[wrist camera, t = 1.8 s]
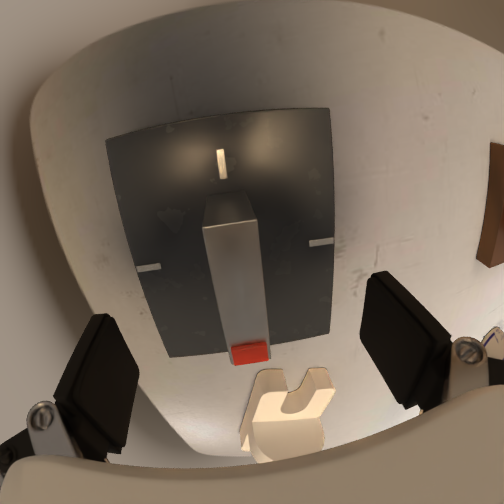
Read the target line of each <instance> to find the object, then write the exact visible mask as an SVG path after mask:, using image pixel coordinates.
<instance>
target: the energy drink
mask: <svg viewBox="0 0 504 504" xmlns="http://www.w3.org/2000/svg"><path fill="white" fill-rule="evenodd" d="M481 343H482V344H483V345H484V347H485V348H486V351H487V356H488V357H492V358H496V359H501V360H504V333H503V331H502V330H501V329H500V328H498V327H497V328H494V329H492V330H491V331H490V332H489V333H488V334H487V335H486V336H485V338H484V339H483V341H482V342H481Z"/></svg>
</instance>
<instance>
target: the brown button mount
mask: <svg viewBox="0 0 504 504" xmlns="http://www.w3.org/2000/svg"><path fill="white" fill-rule="evenodd" d="M476 259H477V260H479V261H480V262H481V263H483V264H484V265H486V266H487V267H488V268H491V267H494V266H496V265H499V264H501V263H504V145H500V144H496V143H492V142H491V150H490V173H489V186H488V195H487V203H486V211H485V217H484V223H483V229H482V234H481V239H480V244H479V248H478V253H477V257H476Z"/></svg>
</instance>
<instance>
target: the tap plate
mask: <svg viewBox="0 0 504 504" xmlns="http://www.w3.org/2000/svg"><path fill="white" fill-rule="evenodd" d="M105 142H106V148H107V154H108V160H109V165H110V171H111V176H112V180H113V185H114V190H115V194H116V199H117V203H118V207H119V211H120V215H121V219H122V223H123V227H124V230H125V234H126V238H127V241H128V245H129V248H130V251H131V255H132V258H133V261H134V264H135V268H136V271H137V274H138V277H139V280H140V283H141V286H142V289H143V292H144V294H145V297H146V300H147V303H148V305H149V308H150V311H151V314H152V316H153V319H154V321H155V324H156V326H157V329H158V331H159V334H160V336H161V339H162V341H163V344H164V346H165V348H166V351H167V353H168V355H169V357H170V358H173V357H184V356H195V355H204V354H213V353H221V352H228V348H227V344H226V340H225V336H224V331H223V327H222V323H221V318H220V314H219V309H218V305H217V300H216V296H215V291H214V286H213V282H212V277H211V272H210V267H209V262H208V257H207V252H206V247H205V242H204V236H203V231H202V226H203V219H204V213H205V207H206V201H207V196H209V195H216V194H223V193H229V192H237V191H245V193H246V195H247V198H248V200H249V202H250V205H251V207H252V209H253V212H254V214H255V216H256V219H257V222H258V232H259V241H260V251H261V260H262V270H263V280H264V289H265V299H266V309H267V319H268V330H269V340H270V345H274V344H280V343H285V342H291V341H296V340H301V339H306V338H311V337H315V336H320V335H324V334H329V331H330V320H331V307H332V291H333V271H334V234H335V204H334V167H333V147H332V132H331V120H330V109H329V108H289V109H271V110H258V111H247V112H237V113H229V114H221V115H214V116H207V117H201V118H195V119H189V120H184V121H179V122H173V123H169V124H164V125H159V126H155V127H151V128H146V129H142V130H138V131H134V132H130V133H127V134H123V135H120V136H116V137H113V138H109V139H107V140H106V141H105Z"/></svg>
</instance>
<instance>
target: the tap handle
mask: <svg viewBox="0 0 504 504" xmlns="http://www.w3.org/2000/svg"><path fill="white" fill-rule="evenodd" d="M202 231H203V236H204V242H205V247H206V252H207V257H208V262H209V267H210V272H211V277H212V282H213V286H214V291H215V296H216V300H217V305H218V309H219V314H220V318H221V323H222V327H223V331H224V336H225V340H226V344H227V348H228V352H229V356H230V360H231V364H232V365H235V366H236V365H243V364H250V363H257V362H263V361H268V360H269V359H271V350H270V340H269V330H268V319H267V309H266V299H265V289H264V280H263V270H262V260H261V251H260V241H259V232H258V222H257V219H256V216H255V214H254V212H253V209H252V207H251V205H250V202H249V200H248V198H247V195H246V193H245V191H237V192H229V193H223V194H216V195H209V196H207V201H206V207H205V213H204V219H203V226H202Z"/></svg>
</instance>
